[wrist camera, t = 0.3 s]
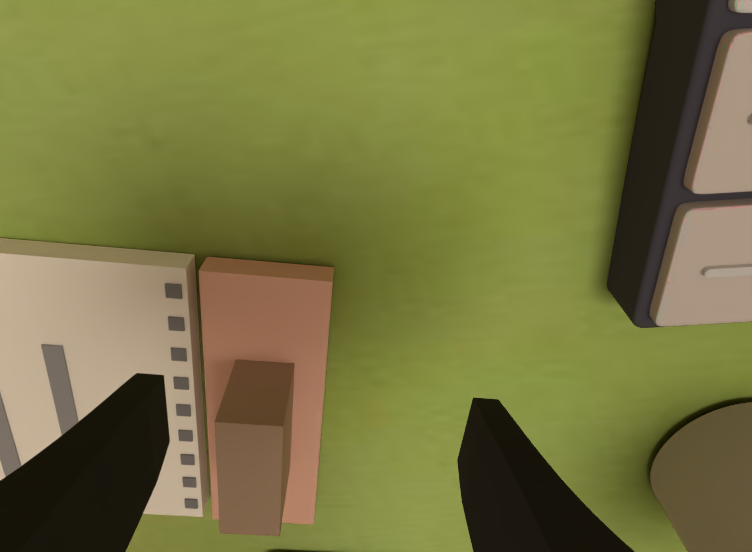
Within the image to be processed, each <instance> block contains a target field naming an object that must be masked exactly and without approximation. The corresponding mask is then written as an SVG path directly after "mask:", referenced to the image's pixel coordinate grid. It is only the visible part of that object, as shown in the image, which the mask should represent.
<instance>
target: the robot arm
mask: <svg viewBox="0 0 752 552" xmlns="http://www.w3.org/2000/svg"><path fill="white" fill-rule="evenodd" d="M169 443H170V437H169V426H168V415H167V404H166V393H165V382H164V375H157V374H144V373H136V374H135V375H134V376H132V377H131V378H130V379H129V380H127V381H126V382H125V383H124V384H123V385H121V386H120V387H119V388H118V389H117V390H116V391H114V392H113V393H112V394H111V395H110V396H109V397H108V398H106V399H105V400H104V401H103V402H102V403H100V404H99V405H98V406H97V407H96V408H95V409H93V410H92V411H91V412H90V413H89V414H87V415H86V416H85V417H84V418H83V419H81V420H80V421H79V422H78V423H76V424H75V425H74V426H73V427H72V428H70V429H69V430H68V431H67V432H65V433H64V434H63V435H62V436H60V437H59V438H58V439H57V440H55V441H54V442H53V443H51V444H50V445H49V446H47V447H46V448H45V449H43V450H42V451H41V452H39V453H38V454H37V455H35V456H34V457H33V458H31V459H30V460H29V461H27V462H26V463H25V464H23V465H22V466H21V467H19V468H18V469H16V470H15V471H13V472H12V473H11V474H9V475H8V476H6V477H5V478H3V479H2V480H0V552H125V551H126V549H127V547H128V545H129V543H130V541H131V538H132V536H133V534H134V532H135V530H136V528H137V525H138V523H139V521H140V519H141V517H142V515H143V512H144V510H145V508H146V506H147V504H148V501H149V499H150V497H151V495H152V492H153V490H154V488H155V486H156V483H157V481H158V478H159V474H160V471H161V468H162V465H163V462H164V459H165V456H166V452H167V449H168V446H169ZM458 470H459V480H460V489H461V497H462V504H463V508H464V513H465V517H466V521H467V526H468V530H469V534H470V539H471V543H472V547H473V551H474V552H634V551H633V550H632V549H631V548H630V547H629V546H627V545H626V544H625V543H624V542H623V541H622V540H621V539H620V538H619V537H618V536H616V535H615V534H614V533H613V532H612V531H611V530H610V529H609V528H608V527H607V526H606V525H605V524H604V523H603V522H602V521H601V520H600V519H599V518H598V517H597V516H595V514H594V513H593V512H592V511H591V510H590V509H589V508H588V507H587V506H586V505H585V504H584V503H583V502H582V501H581V500H580V499H579V498H578V497H577V496H576V495H575V494H574V492H573V491H572V490H571V489H570V488H569V487H568V486H567V485H566V484H565V483H564V481H563V480H562V479H561V478H560V477H559V476H558V475H557V473H556V472H555V471H554V470H553V469H552V467H551V466H550V465H549V464H548V463H547V461H546V460H545V459H544V458H543V456H542V455H541V454H540V453H539V452H538V450H537V449H536V448H535V447H534V445H533V444H532V443H531V441H530V440H529V439H528V438H527V436H526V435H525V434H524V432H523V431H522V430H521V429H520V427H519V426H518V425H517V423H516V422H515V421H514V419H513V418H512V417H511V415H510V414H509V413H508V411H507V410H506V409H505V408H504V406H503V405H502V404H501V402H500V401H499V400H497V399H484V398H473V400H472V404H471V408H470V412H469V416H468V420H467V424H466V428H465V432H464V436H463V440H462V444H461V448H460V452H459V456H458Z"/></svg>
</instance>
